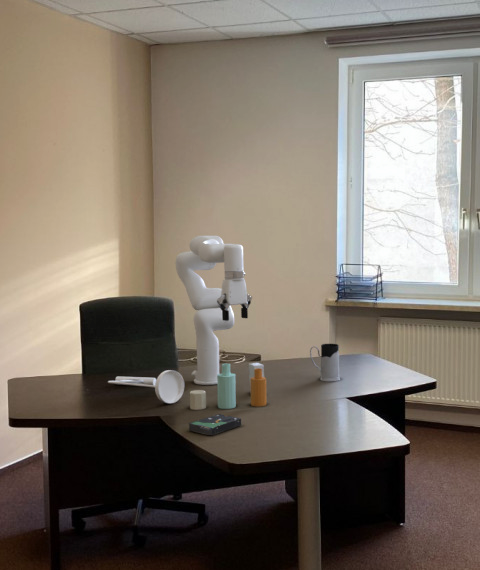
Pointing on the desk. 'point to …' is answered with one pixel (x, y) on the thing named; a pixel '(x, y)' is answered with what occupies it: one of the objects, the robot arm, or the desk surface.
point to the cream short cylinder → (197, 399)
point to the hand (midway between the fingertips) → (235, 319)
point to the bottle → (226, 388)
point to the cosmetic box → (251, 370)
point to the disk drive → (214, 424)
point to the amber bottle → (258, 388)
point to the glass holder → (328, 362)
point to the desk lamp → (158, 385)
